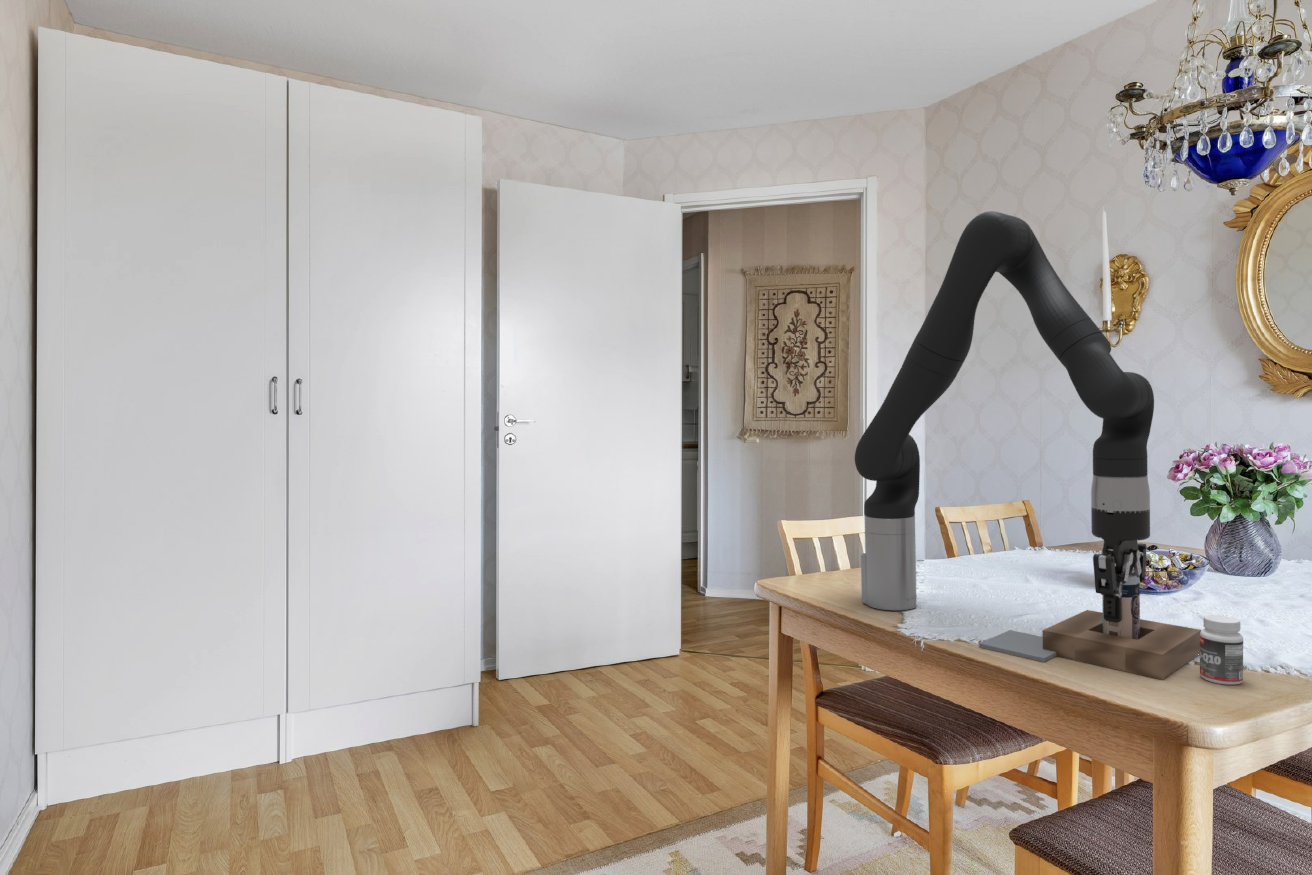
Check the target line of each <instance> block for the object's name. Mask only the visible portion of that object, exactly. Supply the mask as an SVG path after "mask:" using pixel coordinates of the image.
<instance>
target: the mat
mask: <svg viewBox="0 0 1312 875" xmlns="http://www.w3.org/2000/svg"><path fill="white" fill-rule="evenodd" d="M978 648H982V649H987V650H989V651H990V650H991V651H994V652H999V653H1003V654H1008V655H1011V656H1014V657H1015V656H1016V657H1020V658H1024V659H1029V660H1033V661H1037V662H1042V663H1045V662H1048V661H1050V660H1051V659H1053V658H1055V657H1057V656H1056V652H1054V651H1049V650H1045V649H1043V636H1040V635H1035V634H1031V633H1026V632H1023V631H1022V632H1021V631H1017V630H1011V629H1009V630H1007V631H1005V632H1002V633H1000V634H997V635H996V636H992V637H991V638H988V639H986V640H984V641H981V642H979V643H978Z"/></svg>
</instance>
